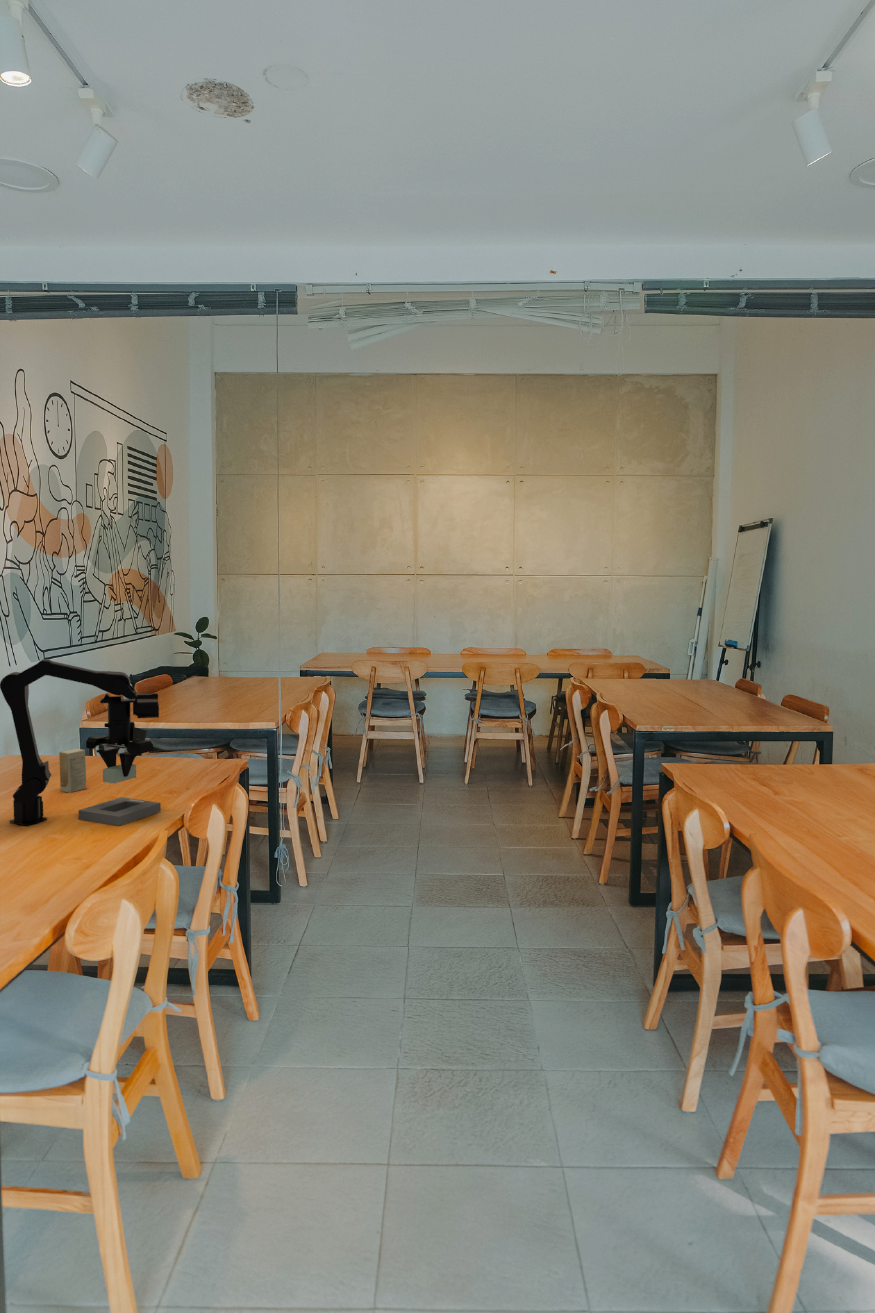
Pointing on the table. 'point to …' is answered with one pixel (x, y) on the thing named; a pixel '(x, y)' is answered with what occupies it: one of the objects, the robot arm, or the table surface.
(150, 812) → the socket board
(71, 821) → the table surface
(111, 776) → the key block
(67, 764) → the skincare box
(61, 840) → the table surface
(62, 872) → the table surface
